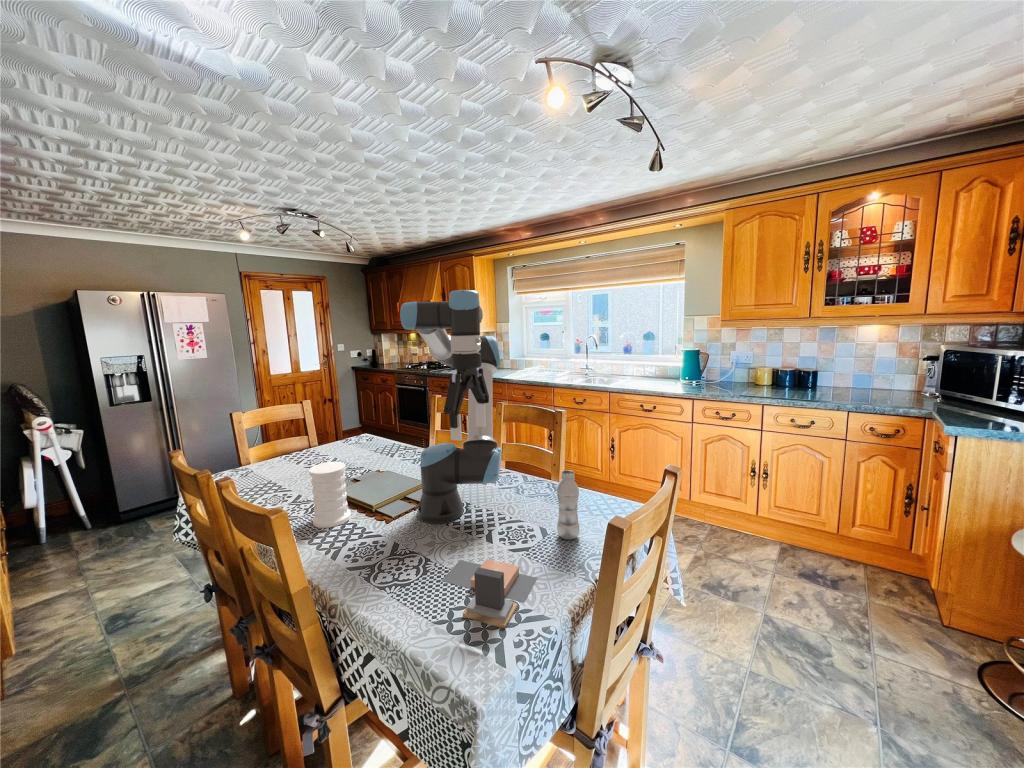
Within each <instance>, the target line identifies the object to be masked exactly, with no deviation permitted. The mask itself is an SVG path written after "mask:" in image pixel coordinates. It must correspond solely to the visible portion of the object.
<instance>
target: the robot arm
mask: <svg viewBox="0 0 1024 768" xmlns="http://www.w3.org/2000/svg"><path fill="white" fill-rule="evenodd" d="M448 295H449V297H448V298H449V299H448V301H446V300H445V301H411V302H409V301H408V302H404V303H402V305H401V307H400V310H399V313H400V314H399V317H400V323H401V326H402V327H403V329H404V330H408V331H410V330H411V331H415V330H416V331H417V332H418V334H419V335H420V336H421V338H422V339H423V340H424V342H425V344H426V345H427V346H428V351H429V353H430V355H431V357H433V359H434V360H436V361H437V362H439V363H441V364H443V365H445V366H448V367H451V368H453V369H456V373H450V374H449V375H448V376H449V379H448V381H449V383H448V388H447V393H446V397H445V403H444V406H443V414H445V415H448V416H449V428H450V429H449V430H450V440H451V441H457V442H458V441H460V442H461V441H462V440H463V437H462V436H463V435H462V433H463V432H462V414H461V413H460V410H461V407H462V404H463V402H464V399H465V395H466V393H467V392H468V402H467V404H468V405H467V408H468V409H467V413H468V414H467V439H465V440H464V441H463V442H462V448H457V446H456V444H455V443H453V442H452V443H451V442H442V443H437V444H434V445H430V446H428V447H426V448H425V449H423V450H422V451H421V453H420V458H419V459H420V464H419V467H420V476H421V477H420V478H421V479H420V480H421V496H420V499H419V502H418V503H419V504H418V507H417V516H418V519H419V520H420V521H422V522H425V523H427V524H434V525H436V524H437V525H439V524H440V525H441V524H445V523H449V522H454V521H455V520H458V519H459V518H461V516H462V515H463V514H464V504H463V503H464V502H463V500H462V499H461V496H460V493H459V490H458V485H477V484H478V485H479V484H481V485H486V484H495V483H496V482H498V480H499V478H500V471H501V463H502V448H501V447H500V446H499V447H498V442H497V440H495V438H494V432H493V430H494V421H493V420H494V418H493V417H494V416H493V415H494V413H493V411H494V410H493V409H494V407H493V405H494V404H493V401H494V400H493V399H494V398H493V397H494V396H493V393H494V391H493V387H494V386H493V384H494V383H493V380H494V379H493V375H494V374H495V373H497V371H498V369H497V368H499V367H501V358H500V356H501V355H500V350H499V344H498V339H497V338H496V337H495V336H493V335H481V323H482V320H483V315H484V313H483V309H482V307H481V306H480V305H481V302H480V295H479V292H478V291H477V290H472V289H470V290H469V289H459V290H451V292H450V293H449V294H448ZM449 329H450V335H449V334H448V332H447V330H449Z"/></svg>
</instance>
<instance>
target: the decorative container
mask: <svg viewBox="0 0 1024 768" xmlns="http://www.w3.org/2000/svg"><path fill="white" fill-rule="evenodd" d="M346 469H347V467H346V464H345V463H344V462H343V461H342V462H341V461H328V462H322V463H319V464H318V463H317V464H316V465H313V466H311V467H309V470H308V475H309V476H310V477H311V481H310V483H311V485H312V490H311V491H312V495H313V498H312V499H313V501H312V502H313V504H314V508H313V512H314V516H313V517H312V525H313V526H314V527H316V528H319V529H321V528H322V529H326V528H327V529H328V528H334V527H338V526H340V525H343V524H345V523H347V522H348V521H350V519H351V517H352V513H351V510H350V509H349V508H348V506H349V504H348V500H347V497H348V495H347V491H346V488H347V484H346V482H345V481H346V475H345V473H344V472H345V471H346Z"/></svg>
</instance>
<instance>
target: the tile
mask: <svg viewBox="0 0 1024 768" xmlns="http://www.w3.org/2000/svg"><path fill="white" fill-rule="evenodd" d="M481 565H482V566H481V567H480V568H484V569H489V570H494V571H499V572H504V596H505V595H506V594H507V592H508V591H509V589H510V587H511V586H512V584H513V583H514V581H515V579H516V578H517V576H518V575H519V574H520V566H519V565H516V564H515V565H514V564H511V563H507V562H504V561H503V562H502V561H498V560H493V559H489V558H486V560H484V562H483V563H482V564H481ZM470 582H471V587H472V588H475V578H474V576H473V577H472V578H471V579H470Z"/></svg>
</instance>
